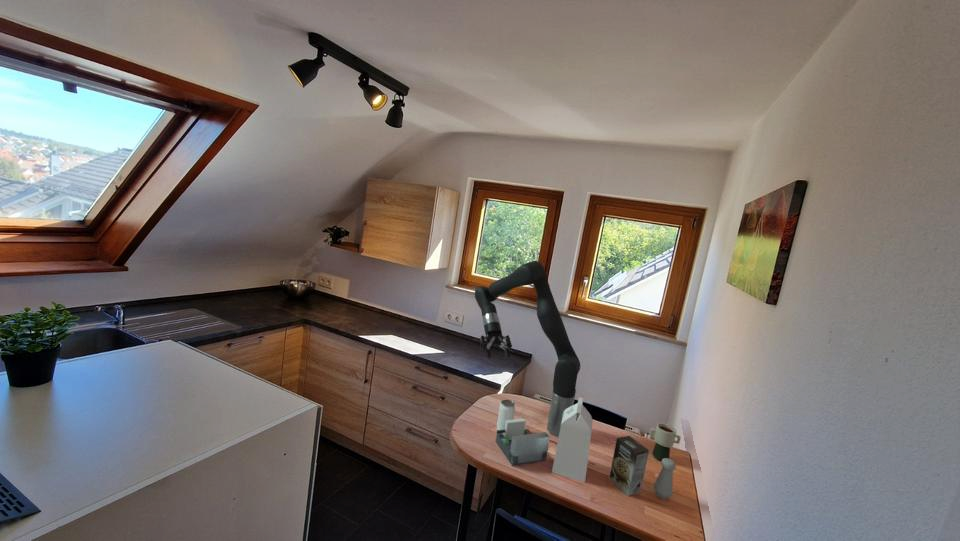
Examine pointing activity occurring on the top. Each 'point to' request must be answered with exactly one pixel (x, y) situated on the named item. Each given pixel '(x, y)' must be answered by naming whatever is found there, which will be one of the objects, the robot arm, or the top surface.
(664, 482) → the salt shaker
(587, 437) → the milk
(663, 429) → the character mug
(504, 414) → the can
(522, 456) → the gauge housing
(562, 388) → the robot arm
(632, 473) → the coffee box
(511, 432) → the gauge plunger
